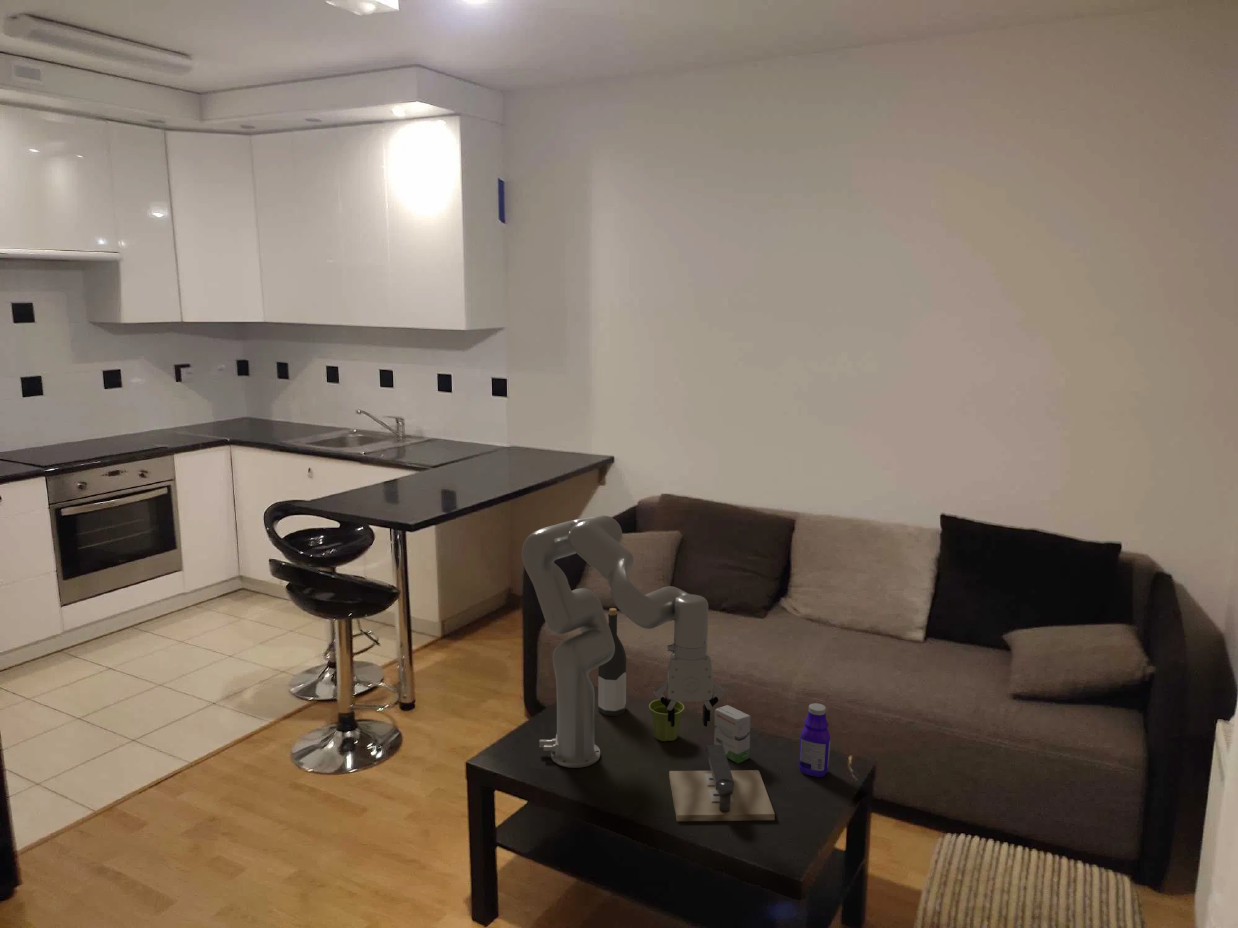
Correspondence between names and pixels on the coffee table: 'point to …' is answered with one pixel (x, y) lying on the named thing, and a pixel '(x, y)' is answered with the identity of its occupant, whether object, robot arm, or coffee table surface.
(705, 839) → the coffee table surface
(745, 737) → the ink box
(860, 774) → the coffee table surface
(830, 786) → the coffee table surface
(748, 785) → the label board
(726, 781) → the swing bar
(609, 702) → the wine bottle
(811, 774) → the bottle
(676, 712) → the plant pot
